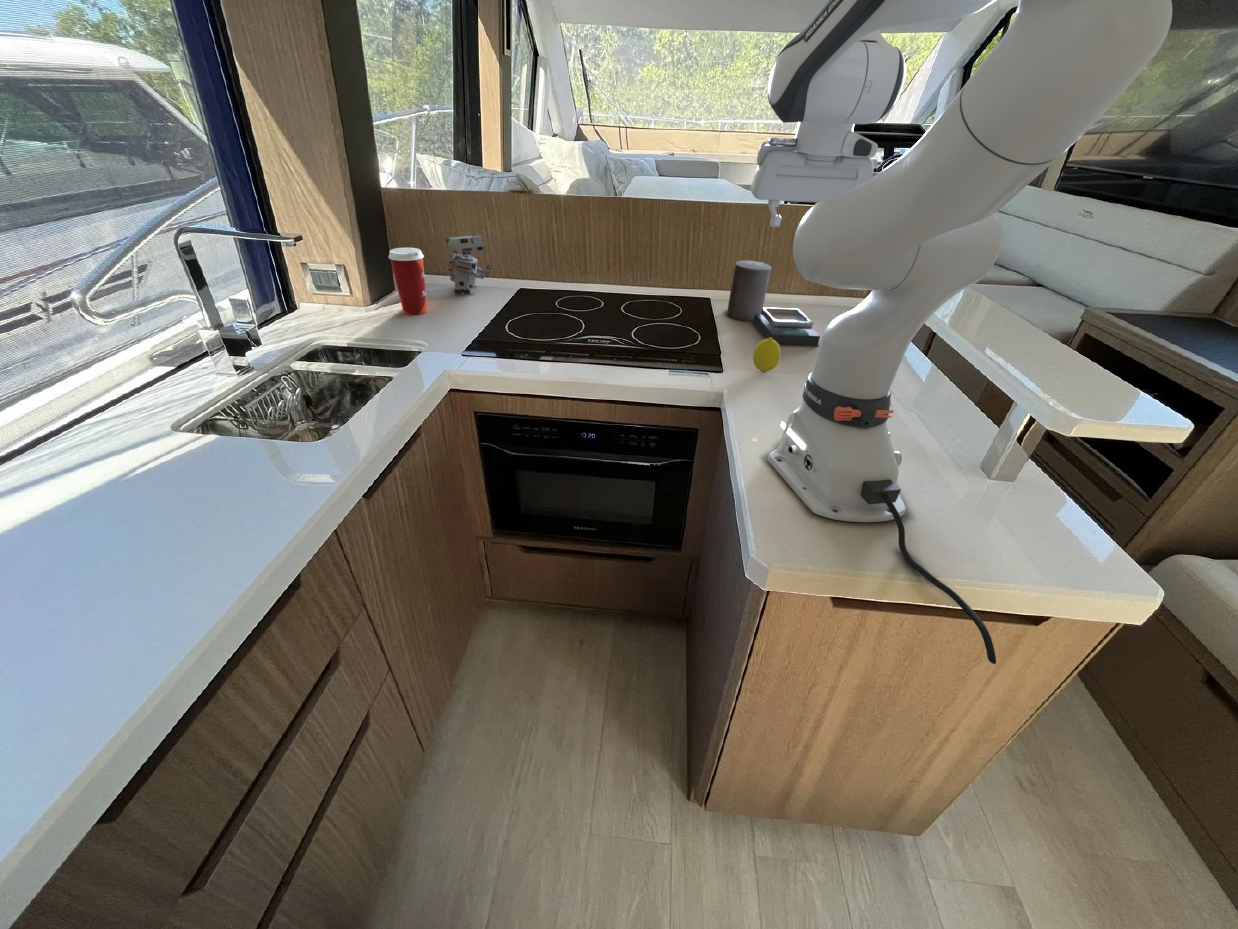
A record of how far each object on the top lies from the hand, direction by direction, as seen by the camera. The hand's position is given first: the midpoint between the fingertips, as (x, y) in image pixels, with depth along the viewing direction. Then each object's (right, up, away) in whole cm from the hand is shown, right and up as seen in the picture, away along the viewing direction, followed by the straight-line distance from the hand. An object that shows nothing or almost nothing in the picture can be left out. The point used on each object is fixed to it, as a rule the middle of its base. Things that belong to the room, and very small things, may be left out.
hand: (799, 227), depth 96 cm
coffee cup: (-86, -4, +40) cm, 95 cm away
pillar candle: (+2, -2, +51) cm, 51 cm away
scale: (+10, -10, +40) cm, 42 cm away
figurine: (-77, +7, +58) cm, 96 cm away
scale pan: (+10, -6, +39) cm, 41 cm away
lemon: (-2, -24, +19) cm, 30 cm away
